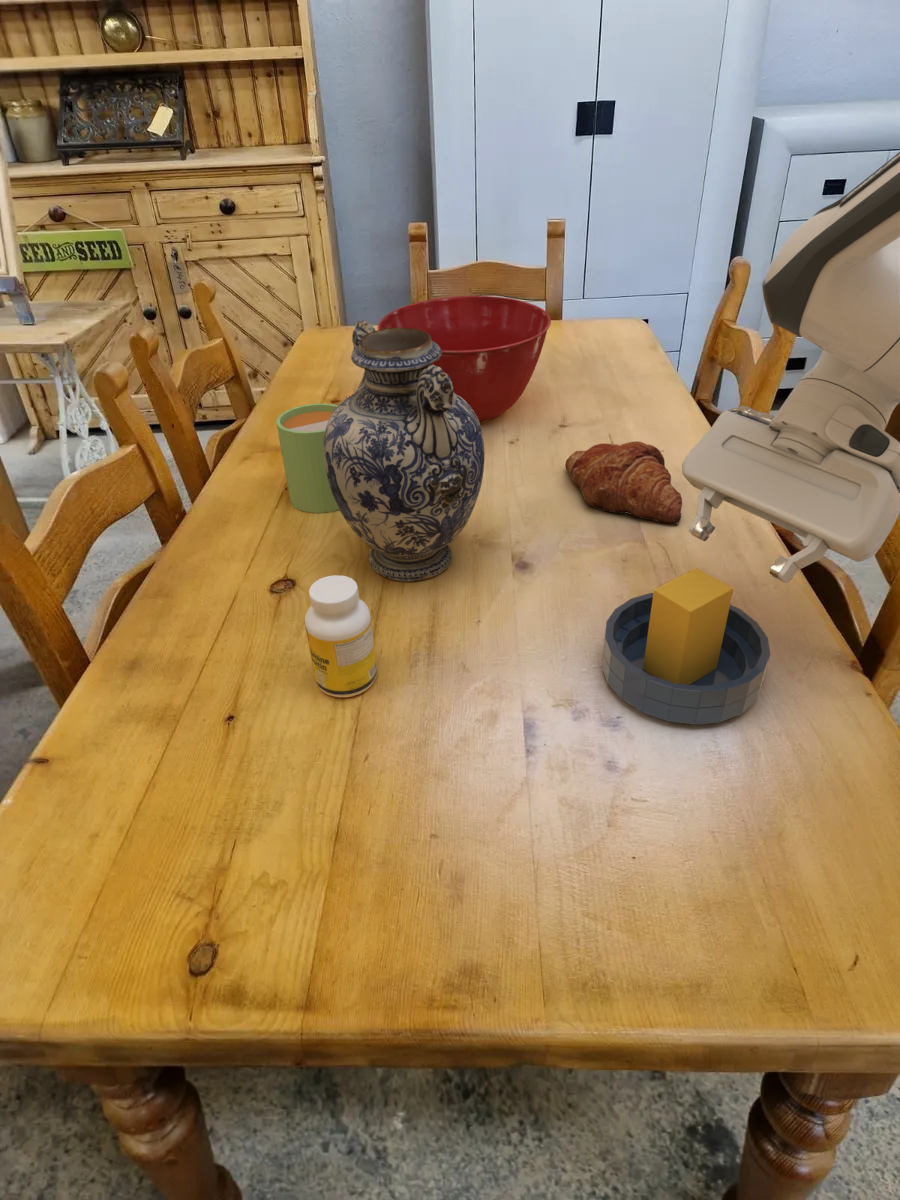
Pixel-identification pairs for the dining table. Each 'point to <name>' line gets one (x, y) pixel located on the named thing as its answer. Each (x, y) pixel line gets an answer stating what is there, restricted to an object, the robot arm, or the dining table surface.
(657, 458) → the pastry
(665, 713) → the bowl
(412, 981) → the dining table surface
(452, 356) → the mixing bowl
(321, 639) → the pill bottle
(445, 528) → the decorative vase
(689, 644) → the yellow rectangular block
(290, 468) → the mug
